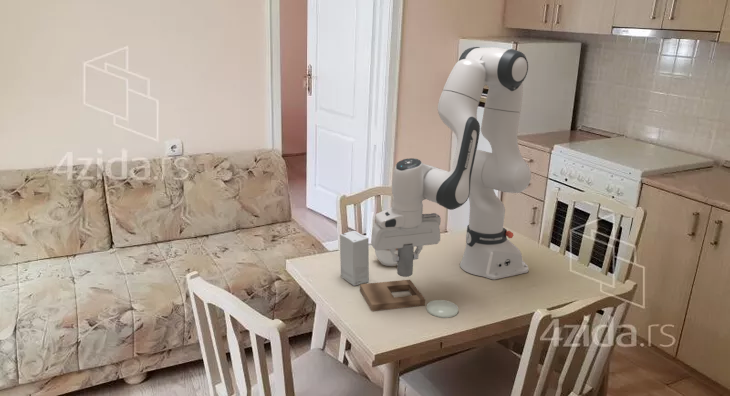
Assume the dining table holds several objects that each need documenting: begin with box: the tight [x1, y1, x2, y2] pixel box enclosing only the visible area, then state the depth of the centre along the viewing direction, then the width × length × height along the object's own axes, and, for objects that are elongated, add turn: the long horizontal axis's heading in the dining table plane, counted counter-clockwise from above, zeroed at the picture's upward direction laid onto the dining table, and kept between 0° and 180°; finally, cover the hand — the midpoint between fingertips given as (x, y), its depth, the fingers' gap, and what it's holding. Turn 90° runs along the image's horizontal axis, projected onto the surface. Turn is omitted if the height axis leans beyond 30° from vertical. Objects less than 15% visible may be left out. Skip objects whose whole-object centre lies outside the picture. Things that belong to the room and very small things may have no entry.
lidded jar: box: [374, 248, 398, 267], centre depth 199 cm, size 11×11×9 cm
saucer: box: [426, 299, 459, 319], centre depth 170 cm, size 9×9×1 cm
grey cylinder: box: [396, 244, 415, 278], centre depth 174 cm, size 4×4×10 cm
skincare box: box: [339, 230, 370, 287], centre depth 185 cm, size 8×6×15 cm
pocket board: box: [359, 279, 426, 312], centre depth 176 cm, size 16×13×2 cm
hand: (405, 259), depth 174 cm, fingers closed on grey cylinder, 5 cm apart
